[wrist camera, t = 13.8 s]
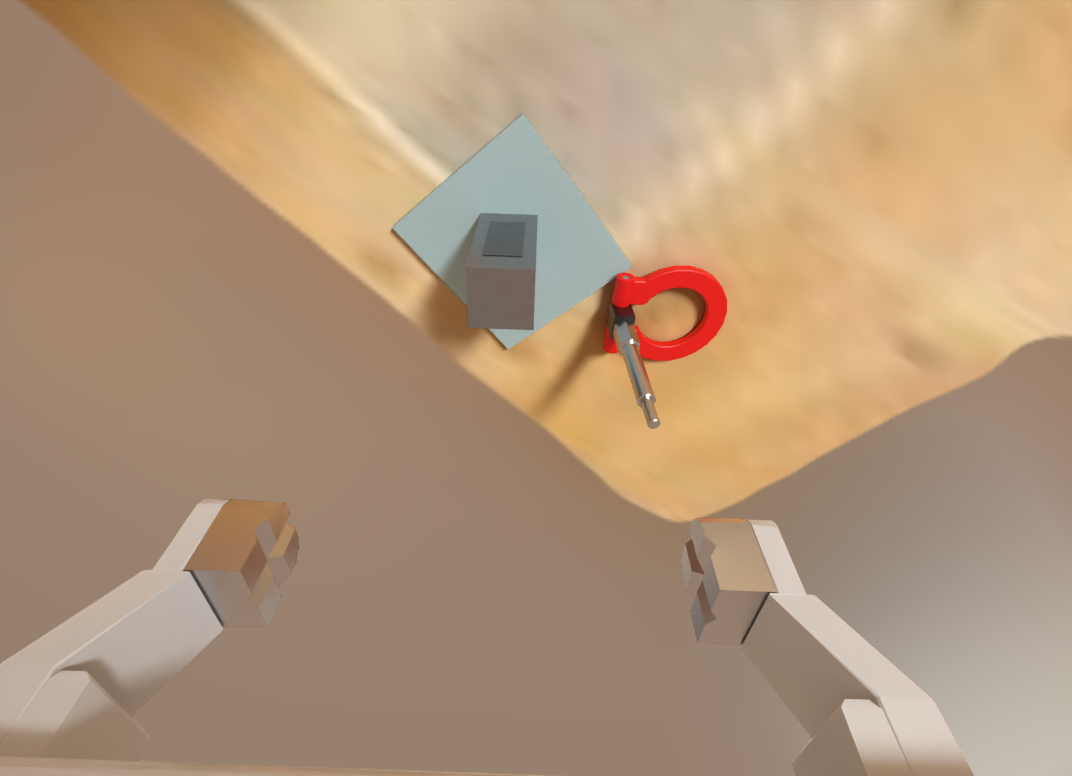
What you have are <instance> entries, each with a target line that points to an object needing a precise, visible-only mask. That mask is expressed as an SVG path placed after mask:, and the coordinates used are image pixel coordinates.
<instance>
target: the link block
mask: <svg viewBox="0 0 1072 776" xmlns="http://www.w3.org/2000/svg"><path fill="white" fill-rule="evenodd" d="M537 224H538V215H526V214H498V213H481V214H480V217H479V221H478V224H477V228H476V231H475V235H474V238H473V242H472V245H471V249H470V252H469V256H468V259H467V262H466V266H465V274H466V293H467V312H468V328H484V329H512V330H534V307H535V282H536V255H537Z"/></svg>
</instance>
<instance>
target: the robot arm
mask: <svg viewBox="0 0 1072 776" xmlns="http://www.w3.org/2000/svg"><path fill="white" fill-rule="evenodd" d="M289 515H290V513H289V510H288V508H287V506H286V504H285V503H279V502H262V501H248V500H232V499H212V498H205V499H203V500H202V501H201V502H199V503H198V504H197V505H196V506H195V507H194V509H193V510H192V512H191V513H190V515H189V516H188V518H187V519H186V521H185V522H184V524H183V525H182V527H181V528H180V530H179V531H178V533H177V534H176V535H175V537H174V538H173V540H172V541H171V543H170V544H169V546H168V547H167V549H166V550H165V552H164V553H163V555H162V556H161V558H160V559H159V561H158V562H157V563H156V565H155V566H154V568H153V569H152V570H143V571H141V572H140V573H138V574H137V575H135V576H134V577H132V578H131V579H129V580H128V581H126V582H125V583H123V584H122V585H120V586H118V587H117V588H115V589H114V590H113V591H111V592H109V593H108V594H106V595H105V596H103V597H102V598H100V599H99V600H97V601H96V602H94V603H93V604H91V605H90V606H88V607H87V608H85V609H84V610H82V611H80V612H79V613H77V614H76V615H74V616H73V617H71V618H70V619H68V620H67V621H65V622H64V623H62V624H61V625H59V626H58V627H56V628H54V629H53V630H51V631H50V632H48V633H47V634H45V635H44V636H42V637H41V638H39V639H38V640H36V641H35V642H33V643H32V644H30V645H29V646H27V647H25V648H24V649H22V650H21V651H19V652H18V653H17V654H15V655H13V656H12V657H10V658H9V659H7V660H6V661H4V662H3V663H1V664H0V776H556V775H528V774H499V773H471V772H443V771H442V772H441V771H414V770H386V769H358V768H357V769H356V768H329V767H328V768H327V767H300V766H299V767H298V766H269V765H243V764H241V765H240V764H214V763H183V762H157V761H140V759H141V757H142V755H143V753H144V751H145V749H146V747H147V745H148V743H149V741H150V740H149V737H148V734H147V732H146V731H145V730H144V729H143V728H142V727H141V726H140V725H139V724H138V723H137V722H136V721H135V720H134V719H133V718H132V716H133V715H134V714H135V713H136V712H137V711H138V710H139V709H140V708H141V707H142V706H143V705H144V704H145V703H146V702H148V701H149V700H150V699H151V697H153V696H154V695H155V694H156V693H157V692H158V691H159V690H160V689H161V688H162V687H163V686H164V685H166V683H168V682H169V681H170V680H171V679H172V678H173V677H174V676H175V675H176V674H177V673H178V672H179V671H180V670H181V669H182V668H183V667H185V666H186V665H187V664H188V663H189V662H190V661H191V660H192V659H193V658H194V657H195V656H196V655H197V654H198V653H199V652H200V651H201V650H202V649H203V648H205V646H207V645H208V644H209V643H210V642H211V641H212V640H213V639H214V638H215V637H216V636H217V635H218V634H219V633H220V632H221V631H223V627H268V626H269V624H270V622H271V619H272V617H273V615H274V612H275V610H276V608H277V606H278V603H279V601H280V599H281V597H282V595H281V591H280V588H279V584H280V583H282V582H283V581H284V580H285V579H286V578H288V577H289V576H290V575H291V573H292V571H293V569H294V566H295V564H296V560H297V554H298V549H299V543H298V535H297V532H296V529H295V528H294V527H293V526H291V525H290V524H288V523H287V522H286V521H287V520H288V517H289ZM690 532H691V536H692V539H691V540H690V541H688V542H687V543H686V544H685V546H684V550H683V554H682V575H683V582H684V586H685V590H686V591H687V592H688V594H689V595H690V596H691V597H692V598H693V599H694V601H693V604H692V607H691V609H690V613H691V617H692V622H693V626H694V630H695V634H696V639H697V643H701V644H717V645H732V646H742V647H741V649H742V651H744V653H745V654H746V656H747V657H748V658H749V659H750V661H751V662H752V663H753V664H754V666H755V667H756V668H757V669H758V670H759V672H760V673H761V674H762V676H763V677H764V678H765V679H766V681H767V682H768V683H769V685H770V686H771V687H772V688H773V690H774V691H775V692H776V693H777V695H778V696H779V697H780V698H781V700H782V701H783V702H784V703H785V705H786V706H787V707H788V708H789V710H790V711H791V712H792V713H793V715H794V716H795V717H796V719H797V720H798V721H799V722H800V724H801V725H802V726H803V727H804V728H805V730H806V731H807V732H808V734H809V735H810V736H811V737H812V739H811V740H810V741H809V742H808V743H807V745H806V746H805V747H804V748H803V749H802V750H801V752H800V753H799V754H798V755H797V756H796V758H795V759H794V761H793V763H792V765H793V769H794V772H795V775H796V776H974V775H973V773H972V771H971V770H970V768H969V766H968V764H967V762H966V760H965V758H964V757H963V755H962V753H961V751H960V749H959V747H958V745H957V743H956V742H955V740H954V738H953V736H952V734H951V732H950V730H949V728H948V727H947V725H946V723H945V721H944V719H943V717H942V715H941V713H940V711H939V710H938V708H937V706H936V704H935V702H934V700H932V699H931V698H930V697H929V696H928V695H927V694H926V693H925V692H923V691H922V690H921V689H920V688H919V687H918V686H917V685H915V684H914V683H913V682H912V681H911V680H910V679H909V678H908V677H906V676H905V675H904V674H903V673H902V672H901V671H899V670H898V669H897V668H896V667H895V666H894V665H893V664H892V663H891V662H889V661H888V660H887V659H886V658H885V657H884V656H883V655H882V654H880V653H879V652H878V651H877V650H876V649H875V648H873V646H871V645H870V644H869V643H868V642H867V641H866V640H865V639H863V638H862V637H861V636H860V635H859V634H858V633H857V632H856V631H854V630H853V629H852V628H851V627H850V626H849V625H848V624H846V623H845V622H844V621H843V620H842V619H841V618H840V617H839V616H837V615H836V614H835V613H834V612H833V611H832V610H831V609H830V608H828V607H827V606H826V605H825V604H824V603H823V602H821V601H820V600H819V599H818V598H817V597H816V596H815V595H808V594H806V592H805V590H804V588H803V585H802V583H801V581H800V578H799V576H798V574H797V571H796V569H795V567H794V564H793V562H792V560H791V557H790V555H789V553H788V551H787V548H786V546H785V543H784V541H783V539H782V537H781V534H780V532H779V529H778V527H777V525H776V524H775V523H774V522H773V521H767V520H744V519H723V518H721V519H720V518H696V519H695V520H694V521H693V522H692V525H691V528H690Z"/></svg>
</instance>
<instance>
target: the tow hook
mask: <svg viewBox="0 0 1072 776" xmlns="http://www.w3.org/2000/svg"><path fill="white" fill-rule="evenodd" d="M672 288H688V289H692V290H694V291H696V292H698V293H699V294H701V296H702V297H703V298H704V300H705V313H704V317H703V319H702V320H701V322H700V324H699V325H698V326H697V327H696V328H695V329H694V330H693V331H692V332H691V333H689V334H688V335H687V336H685V337H683V338H680V339H678V340H674V341H670V342H659V341H654V340H651V339H649V338H647V337H645V336H644V335H643V334H642V333H641V332H640V330H639V328H638V326H636V325H634V322H635V315H634V312H633V309H632V306H631V304H634V305H643V304H645V303H647V302H648V301H649V300H650V299H651V298H652V297H654V296H655V295H656V294H658V293H660V292H662V291H664V290H667V289H672ZM726 313H727V299H726V296H725V293H724V290H723V288H722V286H721V285H720V284H719V282H718V281H717V280H716V279H715V278H714V276H713V275H711V274H709V273H708V272H706V271H704V270H703V269H700V268H696V267H692V266H672V267H667V268H663V269H659V270H657V271H655V272H653V273H651V274H649V275H647V276H645V277H635V276H633V275H632V274H629V273H619V274H617V277H616V282H615V287H614V292H613V297H612V300H611V302H610V306H609V311H608V316H607V321H606V325H607V328H606V333H605V338H604V343H603V349H604V350H605V351H606V352H608V353H617V352H619V353H620V354H622V355H623V357H624V361H625V364H626V367H627V371H628V374H629V377H630V381H631V384H632V387H633V390H634V394H635V397H636V400H637V404H638V405H639V406H640V407H642V409H643V412H644V415H645V419H646V422H647V425H648V427H649V428H651V429H654V428H657V427H658V426H659V425H660V421H659V418H658V415H657V412H656V409H655V406H654V403H655V401H656V399H655V395H654V393H653V390H652V387H651V384H650V381H649V378H648V375H647V372H646V369H645V366H644V363H643V360H642V358H641V357H643V358H646V359H651V360H656V361H667V360H674V359H678V358H683V357H685V356H687V355H690V354H692V353H694V352H696V351H698V350H699V349H701V348H702V347H704V346H705V345H707V344H708V343H709V342H710V341H711V340H712V339H713V338H714V337H715V336H716V334H717V333H718V331H719V330H720V328H721V326H722V325H723V323H724V320H725V316H726Z"/></svg>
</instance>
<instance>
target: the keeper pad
mask: <svg viewBox="0 0 1072 776" xmlns="http://www.w3.org/2000/svg"><path fill="white" fill-rule="evenodd" d="M481 213H498V214H526V215H538V224H537V255H536V282H535V307H534V330H512V329H489V330H490V331H491V332H492V333H493V334H494V335H495V336H496V337H497V338H498V339H499V340H500V341H501V342H502V343H503V345H504V346H505V347H506V348H507V349H510V348H511V347H513V346H514V345H516V344H517V343H519V342H520V341H522V340H523V339H525V338H526V337H528V336H529V335H531V334H532V333H534V332H535V331H537V330H538V329H540V328H541V327H543V326H544V325H546V324H547V323H549V322H550V321H552V320H553V319H555V318H556V317H558V316H559V315H561V314H562V313H564V312H565V311H567V310H568V309H570V308H571V307H573V306H574V305H576V304H577V303H579V302H580V301H582V300H583V299H585V298H586V297H588V296H589V295H591V294H592V293H594V292H595V291H597V290H598V289H600V288H601V287H603V286H604V285H606V284H607V283H609V282H610V281H612V280H613V279H615V278H616V277H617V274H619V273H624V272H625V271H627V270H628V269H630V268H631V267H632V265H631V263H630V261H629V260H628V258H627V257H626V256H625V254H624V253H623V251H622V250H621V249H620V247H619V246H618V244H617V243H616V242H615V240H614V239H613V238H612V236H611V235H610V233H609V232H608V231H607V229H606V228H605V226H604V225H603V224H602V222H601V221H600V219H599V218H598V217H597V215H596V214H595V212H594V211H593V210H592V208H591V207H590V205H589V204H588V203H587V201H586V200H585V198H584V197H583V196H582V194H581V193H580V191H579V190H578V189H577V187H576V186H575V184H574V183H573V182H572V180H571V179H570V177H569V176H568V175H567V173H566V172H565V171H564V169H563V168H562V166H561V165H560V164H559V162H558V161H557V159H556V158H555V157H554V155H553V154H552V152H551V151H550V150H549V148H548V147H547V145H546V144H545V143H544V141H543V140H542V138H541V137H540V136H539V134H538V133H537V131H536V130H535V129H534V127H533V126H532V124H531V123H530V122H529V120H528V119H527V117H526V116H525V115H524V113H522V114H521V115H520V116H518V117H517V118H516V119H515V120H514V121H513V122H512V123H510V124H509V125H508V126H507V127H506V128H505V129H504V130H502V131H501V132H500V133H499V134H498V135H497V136H495V137H494V138H493V139H492V140H491V141H490V142H489V143H487V144H486V145H485V146H484V147H483V148H482V149H481V150H479V151H478V152H477V153H476V154H475V155H474V156H472V157H471V158H470V159H469V160H468V161H467V162H466V163H464V164H463V165H462V166H461V167H460V168H459V169H458V170H456V171H455V172H454V173H453V174H452V175H451V176H450V177H448V178H447V179H446V180H445V181H444V182H443V183H441V184H440V185H439V186H438V187H437V188H436V189H435V190H433V191H432V192H431V193H430V194H429V195H428V196H427V197H425V198H424V199H423V200H422V201H421V202H420V203H418V204H417V205H416V206H415V207H414V208H413V209H412V210H410V211H409V212H408V213H407V214H406V215H405V216H404V217H402V218H401V219H400V220H399V221H398V222H397V223H396V224H394V226H393V227H392V228H393V229H394V230H395V231H396V232H397V234H398V235H399V236H400V237H401V238H402V239H403V240H404V241H405V242H406V243H407V244H408V245H409V246H410V247H411V248H412V249H413V250H414V251H415V252H416V253H417V254H418V256H419V257H420V258H421V259H422V260H423V261H424V262H425V263H426V264H427V265H428V266H429V267H430V268H431V269H432V270H433V271H434V272H435V273H436V274H437V275H438V276H439V278H440V279H441V280H442V281H443V282H444V283H445V284H446V285H447V286H448V287H449V288H450V289H451V290H452V291H453V292H454V293H455V294H456V295H457V296H458V297H459V298H460V299H461V301H462V302H463V303H464V304H465V305H466V306H467V293H466V274H465V266H466V262H467V259H468V256H469V252H470V249H471V245H472V242H473V238H474V235H475V231H476V228H477V224H478V221H479V217H480V214H481Z"/></svg>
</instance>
